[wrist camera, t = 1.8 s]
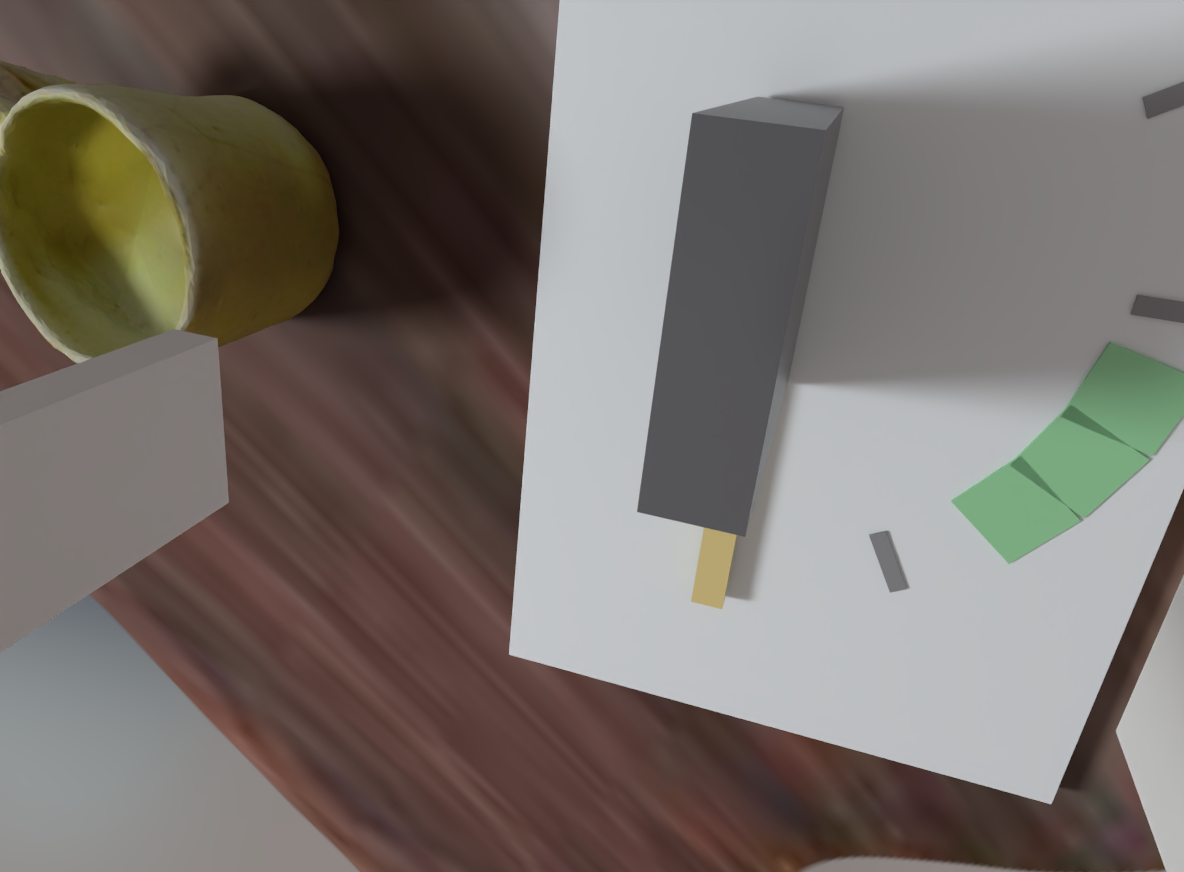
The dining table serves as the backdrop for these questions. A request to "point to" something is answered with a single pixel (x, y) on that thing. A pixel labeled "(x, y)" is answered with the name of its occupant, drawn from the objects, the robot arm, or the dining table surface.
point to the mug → (156, 213)
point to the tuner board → (876, 371)
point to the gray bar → (733, 315)
